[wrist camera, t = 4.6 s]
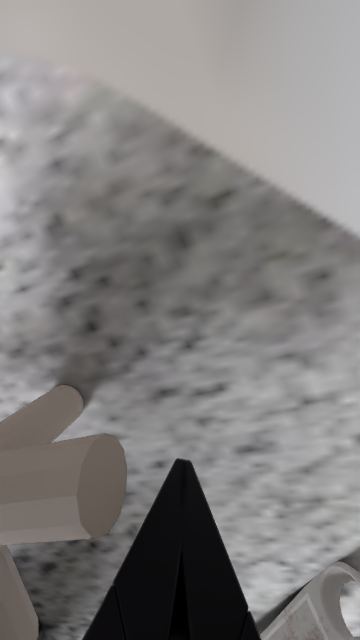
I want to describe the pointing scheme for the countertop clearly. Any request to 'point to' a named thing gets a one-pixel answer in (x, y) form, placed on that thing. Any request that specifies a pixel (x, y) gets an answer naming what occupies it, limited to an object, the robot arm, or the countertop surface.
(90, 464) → the pipe connector
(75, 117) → the countertop surface
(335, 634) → the wrench
